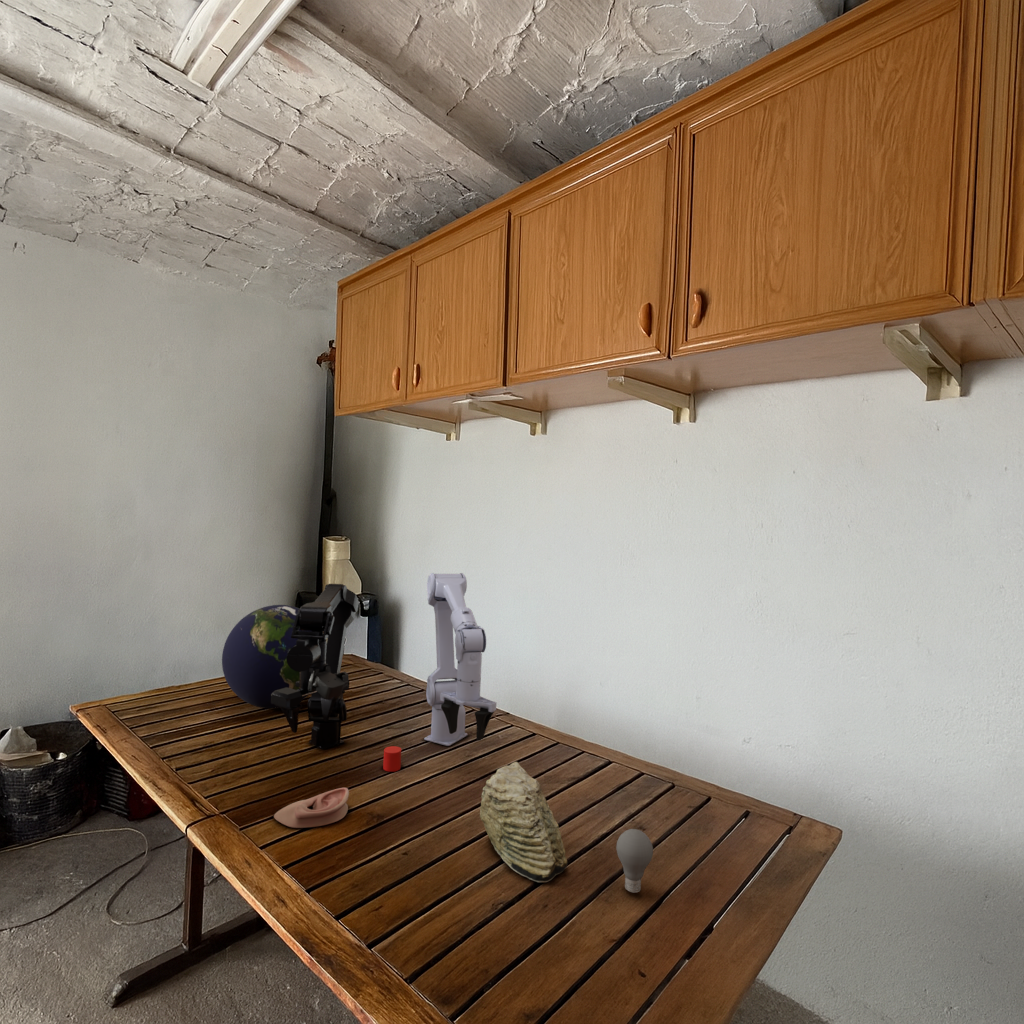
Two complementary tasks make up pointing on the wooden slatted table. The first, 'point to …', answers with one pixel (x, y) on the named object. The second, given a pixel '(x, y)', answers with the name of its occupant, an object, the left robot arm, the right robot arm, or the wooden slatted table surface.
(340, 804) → the anatomical model
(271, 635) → the globe
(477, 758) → the wooden slatted table surface
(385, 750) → the red cylinder
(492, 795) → the fossil
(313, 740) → the left robot arm
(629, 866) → the light bulb
